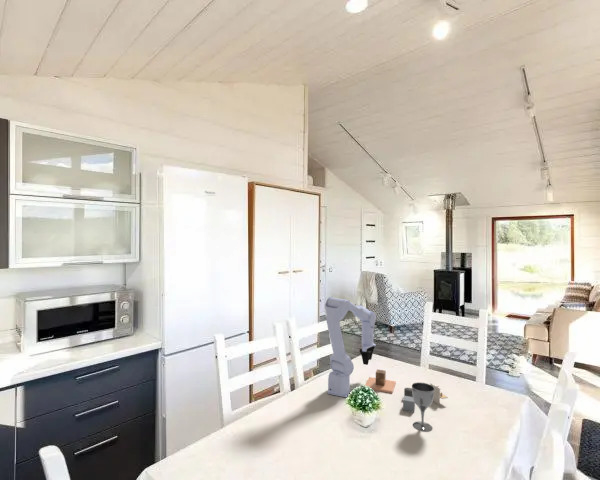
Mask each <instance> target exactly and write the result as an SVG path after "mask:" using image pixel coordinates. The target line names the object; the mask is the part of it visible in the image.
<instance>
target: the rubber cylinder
mask: <svg viewBox="0 0 600 480" xmlns="http://www.w3.org/2000/svg"><path fill="white" fill-rule="evenodd" d="M403 391H404V392H403V393H404V394H403V395H404V396H409V397H413V396H412V387H405V388H404V390H403ZM404 396H403V397H404Z"/></svg>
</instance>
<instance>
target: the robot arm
mask: <svg viewBox="0 0 600 480" xmlns="http://www.w3.org/2000/svg"><path fill="white" fill-rule="evenodd" d="M324 309H325V313H326V325H327V330H328V334H329V338H330V344H331V348H332V352H333V353H332V354H331V355H330V356H329V361H330V362H329V363H330V364H329V367H330V369H331V370H332V371H330V372H329V374H328V377H327V381H328V382H327V385H328V386H327V394H328V395H333V396H337V397H341V398H348V397H347V395H348V394H349V393H350V391H351V390H352V389H350V383H351V382H350V378H351V377H350V376H351V375H352V374H353V371H354V366H355V365H354V362H353V361H352V359H351V356H350V355H349V354H348V353H347V352H346V349H345V344H344V339H343V333H342V329H341V328H342V327H341V325H340V324H341V323H340V322H341V321H342V320H343V319H344V318H345V317H346V315H347V314H348V312H352V315H353V316H354V317H356V318H358V319H359V320H360V321H361V343H360V344H361V348H360V349H359V353H360V354H359V355H360V356H361V358H362V359H361V360H362V364H363V365H365V366H366V365H367V366H368V365H369V361H371V360H372V359H373V354H374V349H375V347H376V345H377V344H376V343H375V342H374V335H375V334H374V332H375V331H374V327H375V326H376V325H375V324H376V320H377V314H376V313H375V312H374V311H372V310H369V309H368V308H367V307H366V308H365V307H364V305H363V304H357V305H356V304H355V303H353V302H351V301H350V300H348V299H346V298H338V297H333V296H329V297H328V298H327V299H326V301H325V303H324ZM350 394H351V393H350Z"/></svg>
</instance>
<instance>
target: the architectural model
mask: <svg viewBox="0 0 600 480" xmlns="http://www.w3.org/2000/svg"><path fill="white" fill-rule="evenodd" d="M429 385H431V386H433V387H434V398H433V403H436V404H437V405H439V406H440V404H441V403H440V401H441V400H445V399H448V396H447V395H445V394H443V392H441V390H442V389H441V388H440V387H439V386H440V385H434V384H433V383H430V384H429Z"/></svg>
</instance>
